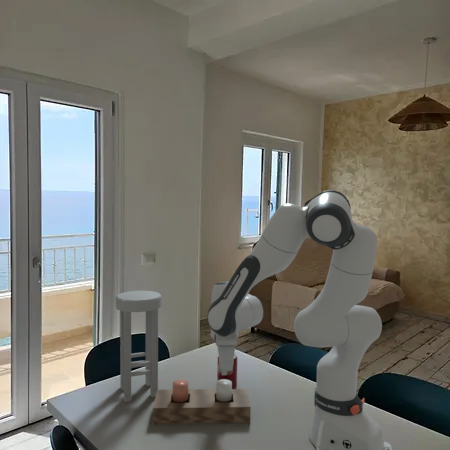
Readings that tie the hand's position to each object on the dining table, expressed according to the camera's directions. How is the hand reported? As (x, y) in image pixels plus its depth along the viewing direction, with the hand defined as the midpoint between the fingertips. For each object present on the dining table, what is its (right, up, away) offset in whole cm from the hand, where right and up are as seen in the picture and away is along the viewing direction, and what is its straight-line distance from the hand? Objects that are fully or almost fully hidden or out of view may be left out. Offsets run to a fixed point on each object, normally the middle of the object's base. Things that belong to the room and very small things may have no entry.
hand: (224, 373), depth 130 cm
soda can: (+1, -12, +18) cm, 22 cm away
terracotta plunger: (-14, -8, 0) cm, 16 cm away
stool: (-31, -12, +14) cm, 36 cm away
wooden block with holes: (-7, -13, 0) cm, 15 cm away
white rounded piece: (0, -8, 0) cm, 8 cm away
